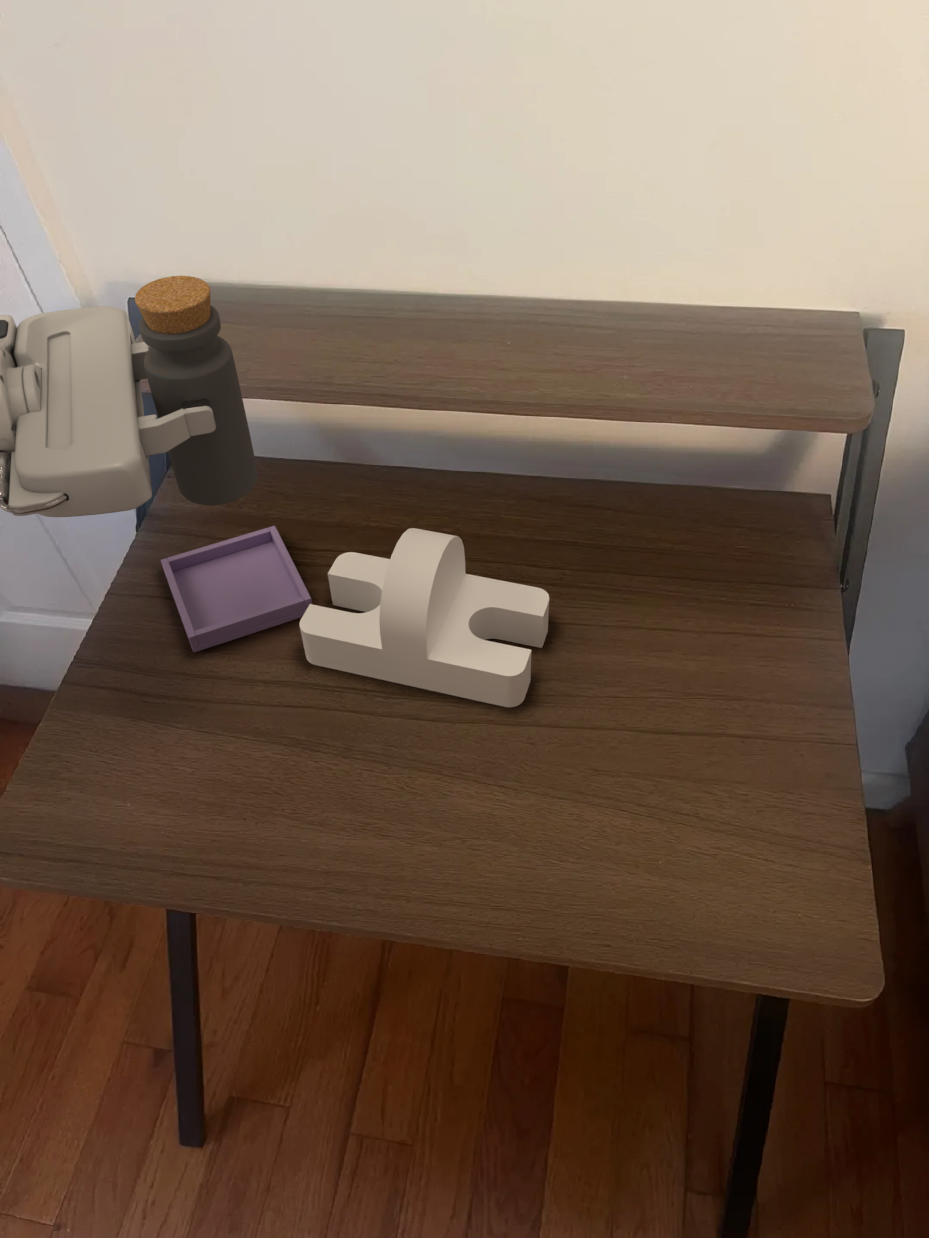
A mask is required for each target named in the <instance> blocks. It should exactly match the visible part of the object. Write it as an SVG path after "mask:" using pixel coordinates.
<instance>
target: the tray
mask: <svg viewBox="0 0 929 1238" xmlns="http://www.w3.org/2000/svg"><path fill="white" fill-rule="evenodd" d="M160 563H161V565H162V568H163V572H164V575H165V578H166V581H167V583H168V586H169V589H170V591H171V594H172V597H173V600H174V603H175V605H176V609H177V612H178V615H179V617H180V620H181V622H182V625H183V627H184V630H185V633H186V636H187V638H188V641H189V645H190V647H191V650H192V652H193V653H197V652H200V651H204V650H206V649H209V648H213V647H215V646H218V645H219V646H220V645H221V644H225V643H228V642H230V641H234V640H237V639H240V638H242V637H243V638H244V637H246V636H250V635H252V634H255V633H258V632H261V631H265V630H267V629H271V628H273V627H277V626H279V625H283V624H286V623H289V622H292V621H295V620H298V619H301V618H302V617H303V615H304V613H305V612H306V610H307V608H308V606H309V605H310V604H312V605H313V600H312V597H311V595H310V593H309V591H308V588H307V587H306V584H305V583H304V581H303V579H302V577H301V575H300V573H299V571H298V569H297V567H296V565H295V563H294V561H293V559H292V557H291V555H290V553H289V551H288V549H287V546H286V544H285V542H284V541H283V539H282V537H281V534H280V533H279V531H278V529H277V526H276V525H271V526H269V527H265V528H262V529H259V530H255V531H252V532H249V533H245V534H241V535H239V536H235V537H231V538H229V539H224V540H222V541H218V542H215V543H211V544H208V545H205V546H202V547H198V548H195V549H192V550H188V551H185V552H182V553H178V554H175V555H171V556H168V557H165V558H162V559H160Z"/></svg>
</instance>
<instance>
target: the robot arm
mask: <svg viewBox="0 0 929 1238" xmlns="http://www.w3.org/2000/svg"><path fill="white" fill-rule="evenodd" d="M150 348H151V347H149V346H148V345H147V344H145V342H144V341H141V342H136V337H135V334H134V331H133V328H132V324H131V321H130V317H129V315H128V312H127V311H126V310H124V309H121V308H117V307H113V306H108V305H97V306H88V307H78V308H70V309H62V310H55V311H49V312H42V313H38V314H34V315H30V316H29V317H26V318H24V319H22V321H20V322H19V324H18V325H17V323H16V322H15V319H14V317H13V316H12V315H10V314H0V508H1V510H3V511H5V512H7V513H10V514H12V515H13V516H16V517H26V516H31V515H37V514H38V515H40V516H43V517H47V518H72V517H84V516H85V517H86V516H95V515H104V514H114V513H120V512H127V511H132V510H136V509H138V508H140V507H141V506H142V505H144V504H145V503H147V502H148V501H149V500H151V498H152V497H153V490H152V480H151V471H150V470H151V469H150V461H149V459H150V458H149V456H154V455H159V454H166V453H168V451H169V450H171V449H172V448H174V447H176V446H177V445H179V444H180V443H182V442H184V441H185V440H187V439H189V438H190V436H196V435H201V434H207V433H212V432H213V431H215V429H216V424H215V419H214V414H213V410H212V406H211V402H210V401H209V400H208V399H200V400H197V401H195V400H193V401H184V402H183V408H182V409H180V410H178V411H175V412H173V413H171V414H168V415H166V416H163V417H161V418H158V415H157V414H148V415H145V412H144V402H143V393H142V382H141V380H142V381H143V380H148V379H147V375H146V372H145V367H144V358H145V355H146V353H147V352H148V350H149V349H150ZM183 409H184V410H183Z"/></svg>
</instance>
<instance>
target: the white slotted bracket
mask: <svg viewBox="0 0 929 1238" xmlns="http://www.w3.org/2000/svg"><path fill="white" fill-rule="evenodd" d="M465 554H466V553H465V547H464V543H463V540H462V539H461V537H460V536H458V535H453V534H449V533H443V532H437V531H431V530H428V529H427V530H426V529H422V528H414V527H411V528H407V529H406V530H405V531H404V532H403V533H402V534H401V536H400V538H399V539H398V540H397V542H396V544H395V547H394V548H393V551H392V553H391V555H390V558H386V557H380V556H376V555H369V554H365V553H359V552H354V551H348V552H343V553H342V554H339V555H338V556H336V558H335V560H334V562H333V563H332V565H331V567H330V568H329V570H328V572H327V579H328V585H329V591H330V597H331V601H332V606H335V607H340V608H346V609H350V610H355V611H359V613H358V612H351V611H345V610H341V609H336V608H331V607H326V606H322V605H317V604H313V603H312V604H310V605H309V606H308V608H307V610H306V612H305V613H304V615H303V617H301V618H300V619H299V620H300V621H299V625H298V626H299V631H300V635H301V640H302V644H303V649H304V655H305V659H306V661H307V662H308V663H309V664H311V665H314V666H318V667H323V668H328V669H332V670H337V671H341V672H346V673H350V674H354V675H359V676H363V677H368V678H371V679H372V678H373V679H377V680H381V681H386V682H391V683H395V684H400V685H404V686H408V687H413V688H417V689H422V690H427V691H430V692H436V693H439V694H445V695H450V696H452V697H453V696H454V697H459V698H463V699H468V700H472V701H475V702H481V703H485V704H490V705H496V706H500V707H504V708H514V707H518V706H520V705H521V704H522V703H523V702H524V701H525V698H526V695H527V693H528V690H529V687H530V684H531V679H532V649H529V648H525V647H519V646H516V645H511V644H505V643H501V642H496V641H491V640H500V641H506V642H511V643H514V644H520V645H525V646H529V647H534V648H539V649H543V646H544V643H545V641H546V637H547V635H548V632H549V615H550V595H549V593H548V592H547V590H545V589H543V588H541V587H537V586H532V585H527V584H522V583H517V582H511V581H505V580H500V579H495V578H490V577H484V576H479V575H475V574H469V573H466V555H465Z"/></svg>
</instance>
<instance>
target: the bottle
mask: <svg viewBox="0 0 929 1238" xmlns="http://www.w3.org/2000/svg"><path fill="white" fill-rule="evenodd" d="M134 302H135V305H136V307H137V309H138V310H139V312H140V314H141V316H142V317H141V318H140V320H139V322H138V329H139V334H140V336H141V340H142V342H145V344H147V345H148V346H149V347H151V348H150V349H149V350H148V352H147V353H146V355H145V358H144V367H145V372H146V375H147V379H146V380H147V383H148V386H149V390H150V394H151V397H152V401H153V404H154V407H155V411H156V416H157V419H159V418H161V417H163V416H166V415H168V414H171V413H173V412H175V411H178V410H180V409H182V408H183V402H184V401H193V400H195V401H197V400H200V399H208V400H209V401H210V402H211V406H212V410H213V414H214V419H215V424H216V429H215V431H213V432H212V433H207V434H201V435H196V436H190V438H189V439H187V440H185V441H184V442H182V443H180V444H179V445H177V446H176V447H174V448H172V449H171V450H169V451H167V453H168V457H169V460H170V464H171V467H172V470H173V474H174V478H175V481H176V484H177V487H178V490H179V492H180V493H181V496H182V497H184V498H185V500H187V501H189V502H191V503H193V504H197V505H201V506H221V505H222V506H223V505H227V504H230V503H234V502H236V501H238V500H240V499H242V498H244V497H245V496H247V495H248V494H249V493H250V492H251V491H252V490H253V489H254V487H256V485H257V483H258V479H259V478H258V477H259V475H258V469H257V468H258V467H257V462H256V457H255V452H254V447H253V443H252V442H253V441H252V438H251V437H252V436H251V433H250V428H249V424H248V419H247V414H246V408H245V404H244V399H243V396H242V389H241V385H240V381H239V376H238V372H237V367H236V363H235V362H236V361H235V359H234V354H233V350H232V347H231V345H230V343H228V341H226V339H224V338H223V337H222V336H219V333H220V332H221V328H222V324H221V318H220V314H219V312H218V310H217V309H216V307H214V306H213V305H212V304H211V287H210V285H209V284H208V283H207V282H206V281H205V280H203V279H202V278H198V277H195V276H190V275H171V276H165V277H161V278H158V279H155V280H153V281H150V282H148V283H146V284H145V285H143V286H142V287H141V288H139V289H138V290H137V292H136V293H135V296H134ZM183 410H184V409H183Z"/></svg>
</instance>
